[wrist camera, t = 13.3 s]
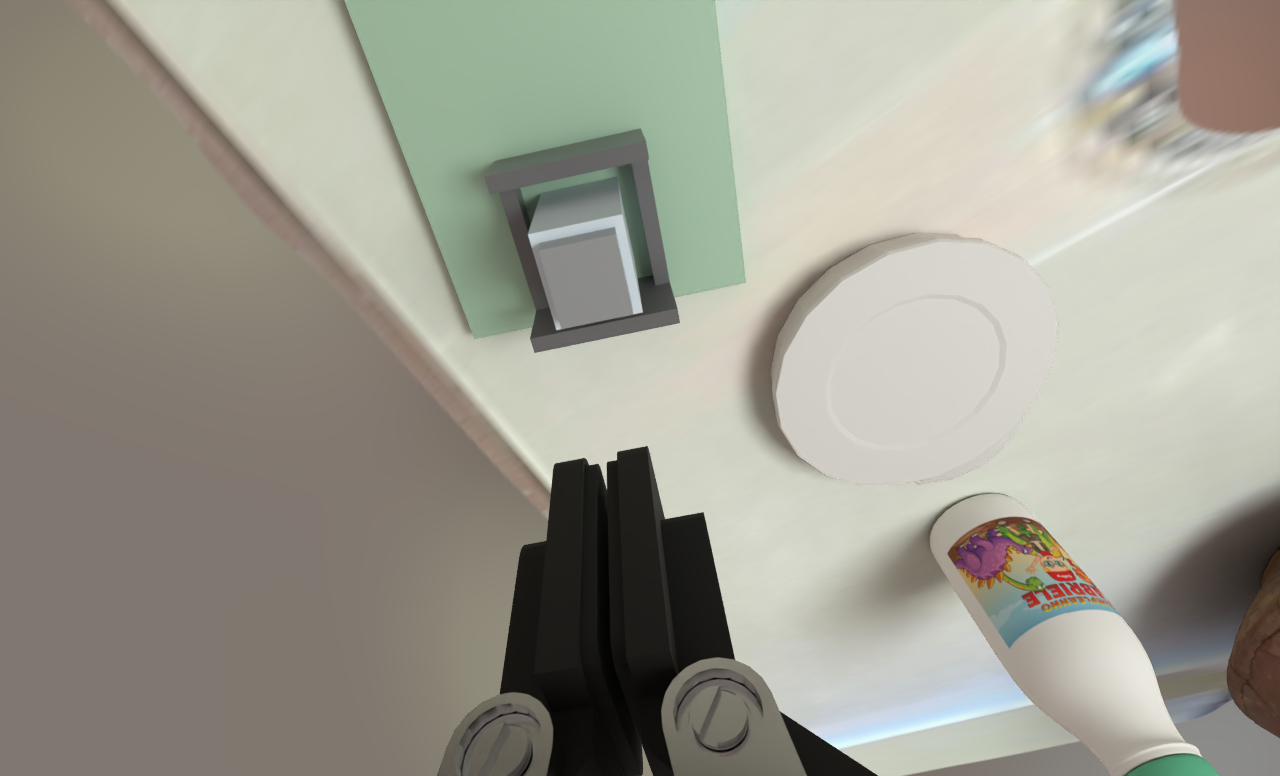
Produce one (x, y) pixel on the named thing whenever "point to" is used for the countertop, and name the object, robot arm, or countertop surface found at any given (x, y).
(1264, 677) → the pottery vessel
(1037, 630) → the milk bottle
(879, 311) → the lid
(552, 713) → the robot arm
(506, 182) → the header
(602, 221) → the plug
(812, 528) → the countertop surface
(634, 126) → the board
